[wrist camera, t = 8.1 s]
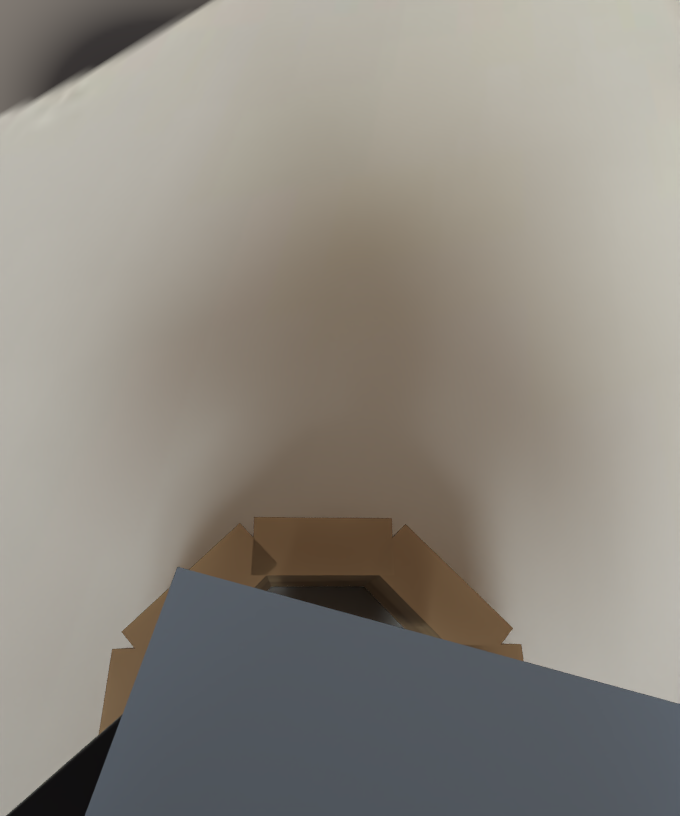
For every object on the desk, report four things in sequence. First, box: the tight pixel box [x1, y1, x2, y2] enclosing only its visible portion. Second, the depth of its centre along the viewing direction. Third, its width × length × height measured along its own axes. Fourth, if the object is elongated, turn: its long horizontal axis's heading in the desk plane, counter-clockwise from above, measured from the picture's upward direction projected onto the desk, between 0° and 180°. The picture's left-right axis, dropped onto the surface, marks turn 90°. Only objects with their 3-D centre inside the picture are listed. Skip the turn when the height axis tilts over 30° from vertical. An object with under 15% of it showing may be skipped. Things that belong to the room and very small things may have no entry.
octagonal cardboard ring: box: [99, 517, 523, 734], centre depth 14 cm, size 11×11×4 cm
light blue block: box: [85, 567, 680, 816], centre depth 8 cm, size 4×4×12 cm
